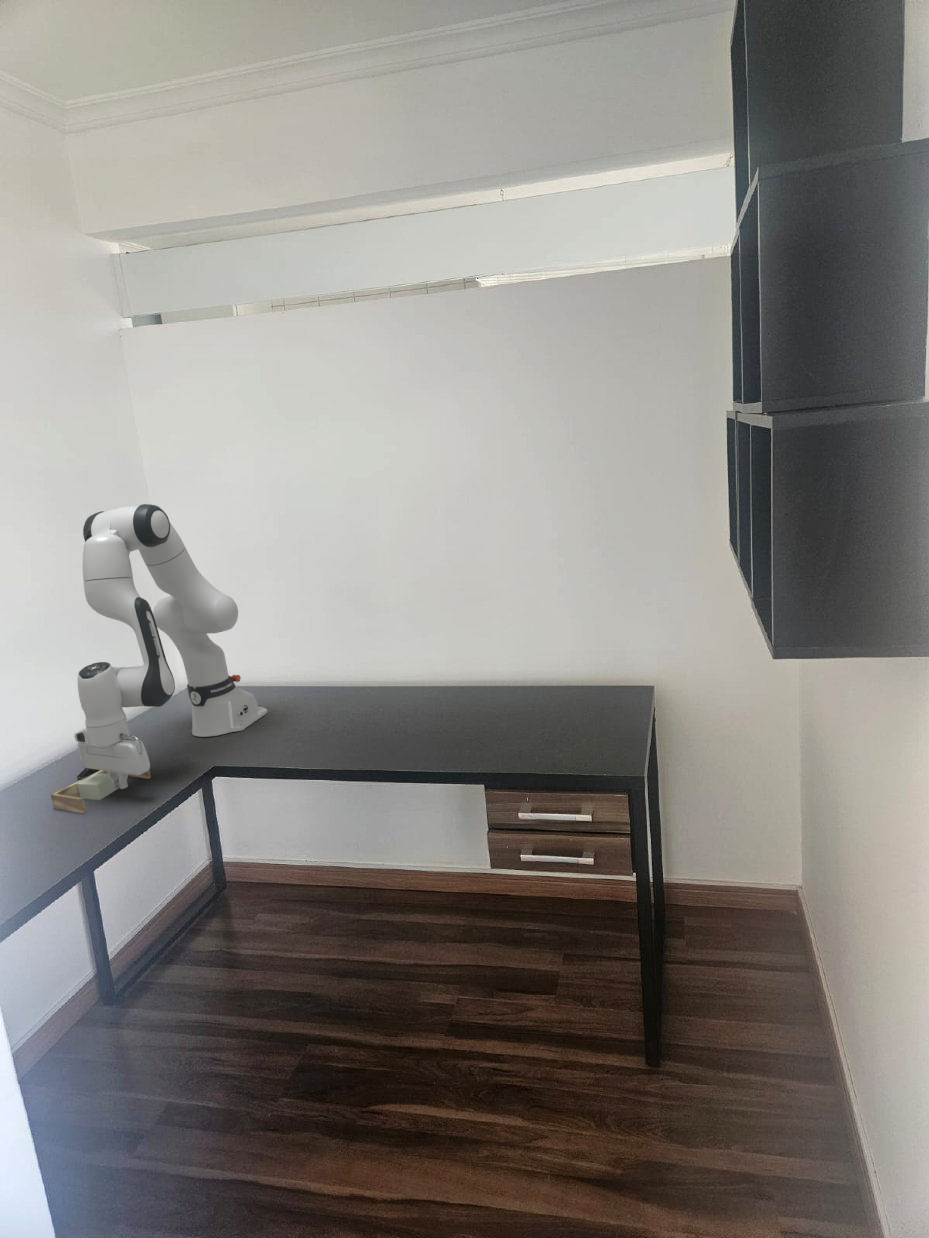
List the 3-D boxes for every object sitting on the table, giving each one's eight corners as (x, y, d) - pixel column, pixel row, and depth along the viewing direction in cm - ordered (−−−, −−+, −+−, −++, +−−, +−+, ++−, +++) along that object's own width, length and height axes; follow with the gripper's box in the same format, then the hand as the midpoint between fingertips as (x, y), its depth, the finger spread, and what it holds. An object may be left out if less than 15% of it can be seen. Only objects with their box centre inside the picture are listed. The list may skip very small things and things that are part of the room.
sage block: (98, 788, 212) (95, 773, 211) (118, 789, 210) (114, 774, 209) (80, 799, 206) (77, 784, 205) (100, 800, 204) (97, 784, 203)
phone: (75, 778, 218) (97, 755, 233) (76, 782, 218) (98, 759, 233) (106, 773, 218) (126, 751, 233) (107, 778, 218) (127, 755, 233)
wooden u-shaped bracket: (122, 773, 219) (119, 760, 218) (151, 777, 214) (148, 764, 213) (54, 808, 202) (50, 794, 201) (83, 813, 197) (79, 799, 196)
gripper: (150, 730, 198) (161, 786, 201) (91, 724, 209) (104, 777, 212) (127, 741, 193) (140, 798, 196) (69, 734, 203) (82, 788, 206)
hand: (121, 787), depth 204 cm, fingers closed
